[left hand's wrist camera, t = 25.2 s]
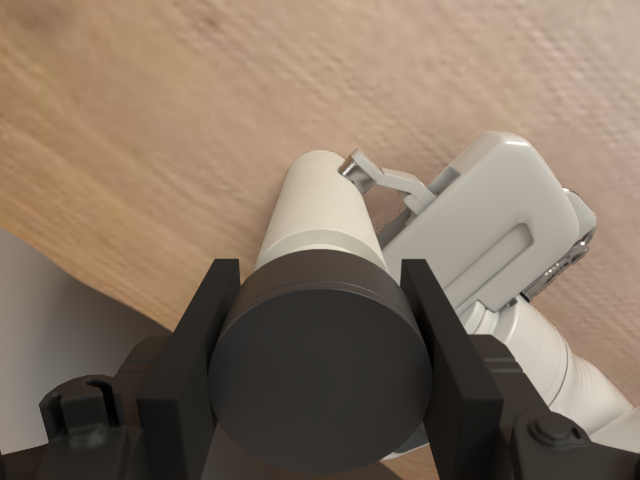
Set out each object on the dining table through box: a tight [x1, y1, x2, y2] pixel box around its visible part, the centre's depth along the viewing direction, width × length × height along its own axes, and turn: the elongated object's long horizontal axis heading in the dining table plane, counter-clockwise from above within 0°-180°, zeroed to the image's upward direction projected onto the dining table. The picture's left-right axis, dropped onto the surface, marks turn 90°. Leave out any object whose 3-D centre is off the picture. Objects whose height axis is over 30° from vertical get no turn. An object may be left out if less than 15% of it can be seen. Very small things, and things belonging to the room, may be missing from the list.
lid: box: [207, 249, 433, 474], centre depth 11 cm, size 5×5×2 cm
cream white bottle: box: [252, 150, 389, 274], centre depth 22 cm, size 5×5×19 cm
